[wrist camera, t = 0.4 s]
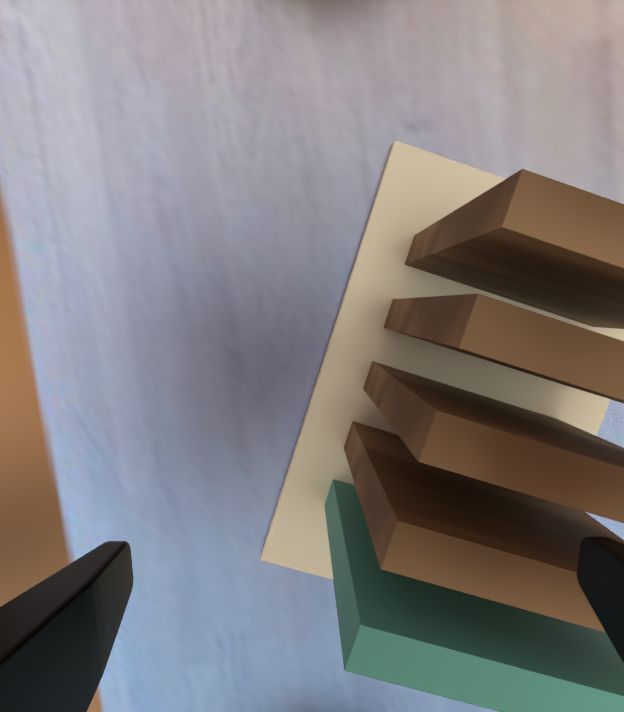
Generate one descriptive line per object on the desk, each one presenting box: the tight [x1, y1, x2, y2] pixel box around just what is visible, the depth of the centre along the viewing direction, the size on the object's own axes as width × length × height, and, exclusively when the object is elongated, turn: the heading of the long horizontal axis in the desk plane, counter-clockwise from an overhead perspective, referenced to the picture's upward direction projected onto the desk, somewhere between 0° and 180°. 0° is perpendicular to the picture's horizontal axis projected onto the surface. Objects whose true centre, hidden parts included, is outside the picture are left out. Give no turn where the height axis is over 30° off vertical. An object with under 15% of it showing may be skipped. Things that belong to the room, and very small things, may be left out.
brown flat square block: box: [363, 361, 624, 523], centre depth 18 cm, size 2×11×11 cm, turn 72°
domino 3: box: [344, 421, 624, 632], centre depth 19 cm, size 2×11×11 cm, turn 72°
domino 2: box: [383, 293, 624, 403], centre depth 18 cm, size 2×11×11 cm, turn 72°
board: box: [260, 140, 624, 580], centre depth 24 cm, size 24×16×1 cm, turn 162°
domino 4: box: [324, 479, 624, 712], centre depth 19 cm, size 2×11×11 cm, turn 73°
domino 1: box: [405, 169, 624, 329], centre depth 17 cm, size 2×11×11 cm, turn 72°
